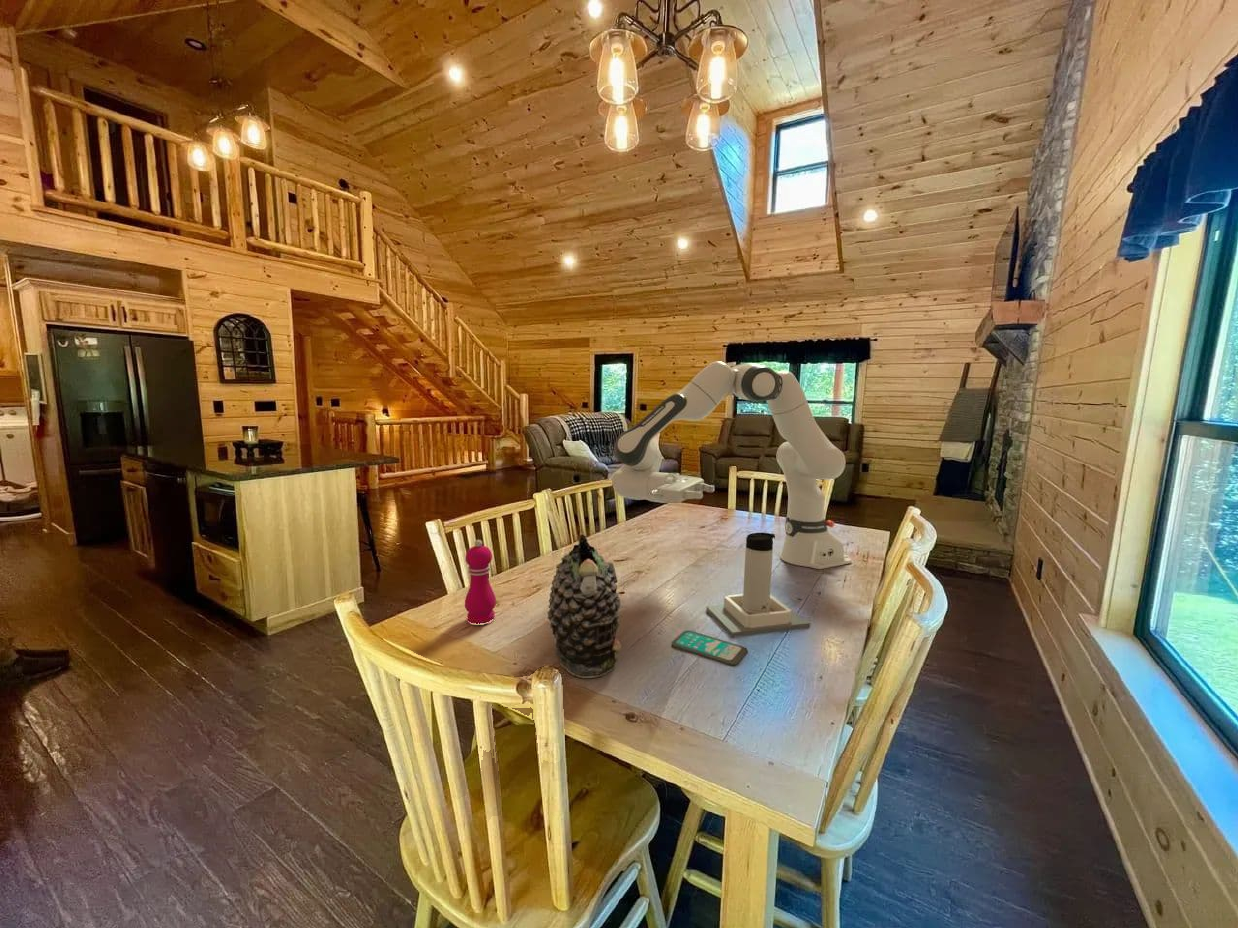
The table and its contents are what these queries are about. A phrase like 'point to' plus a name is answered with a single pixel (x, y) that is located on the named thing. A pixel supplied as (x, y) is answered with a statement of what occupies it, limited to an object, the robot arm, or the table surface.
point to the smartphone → (710, 648)
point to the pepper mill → (479, 585)
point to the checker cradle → (755, 618)
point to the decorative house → (585, 612)
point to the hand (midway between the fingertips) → (708, 492)
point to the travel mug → (757, 573)
